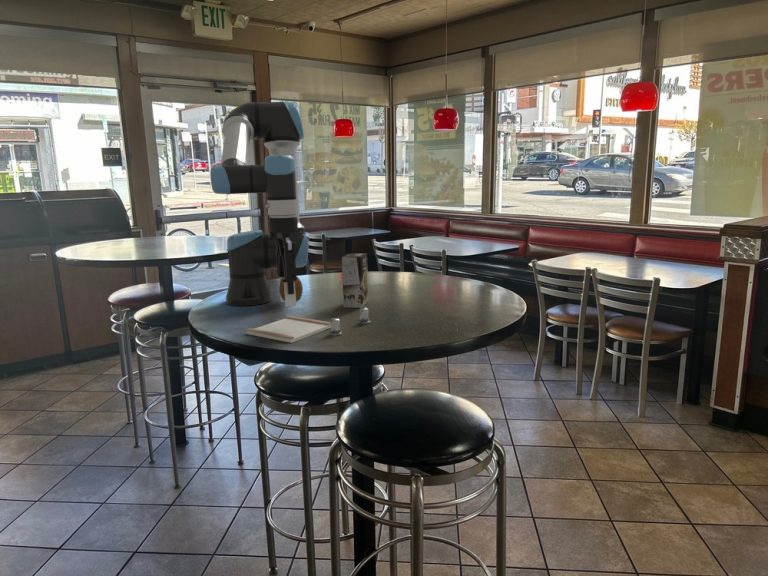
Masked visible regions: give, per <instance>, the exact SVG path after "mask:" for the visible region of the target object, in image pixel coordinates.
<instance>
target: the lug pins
mask: <svg viewBox="0 0 768 576" xmlns="http://www.w3.org/2000/svg"><path fill="white" fill-rule="evenodd" d="M369 315H370V314H369V308H368V307H362V308H359V320H358V321H357V323H358V325H359V324H360V325H367V324H371V322H372V320H371V319H370V318H369ZM329 322H331V328H330V331H329V332H328V336H330V337H340V336H342V335H343V331H342V330H341V321H340V318H338V317H334V318H333V317H332V318H330V321H329Z"/></svg>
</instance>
